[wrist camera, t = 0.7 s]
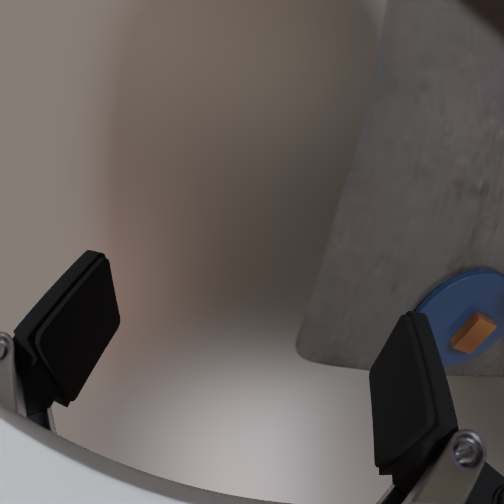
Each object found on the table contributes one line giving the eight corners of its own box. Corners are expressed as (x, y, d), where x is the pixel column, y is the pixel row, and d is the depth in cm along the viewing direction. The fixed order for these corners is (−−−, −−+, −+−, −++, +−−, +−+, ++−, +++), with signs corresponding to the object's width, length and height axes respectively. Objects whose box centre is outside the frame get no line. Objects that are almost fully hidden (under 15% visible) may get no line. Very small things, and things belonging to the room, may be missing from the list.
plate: (460, 245, 21) (465, 253, 20) (528, 291, 22) (533, 299, 21) (382, 342, 28) (383, 351, 27) (458, 367, 29) (461, 375, 28)
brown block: (475, 309, 23) (480, 318, 22) (492, 318, 23) (497, 327, 22) (449, 339, 25) (452, 348, 24) (467, 345, 25) (470, 354, 24)
